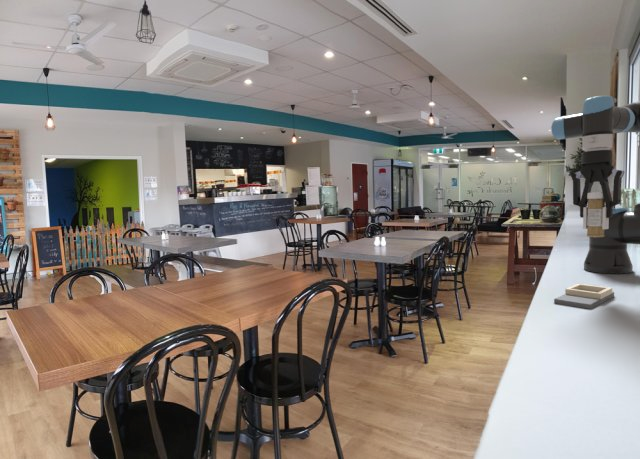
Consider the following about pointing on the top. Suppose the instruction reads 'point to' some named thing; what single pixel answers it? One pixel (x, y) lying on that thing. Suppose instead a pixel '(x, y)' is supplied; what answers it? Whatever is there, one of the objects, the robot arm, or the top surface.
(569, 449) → the top surface
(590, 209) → the sprinkles bottle
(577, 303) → the slate base board
